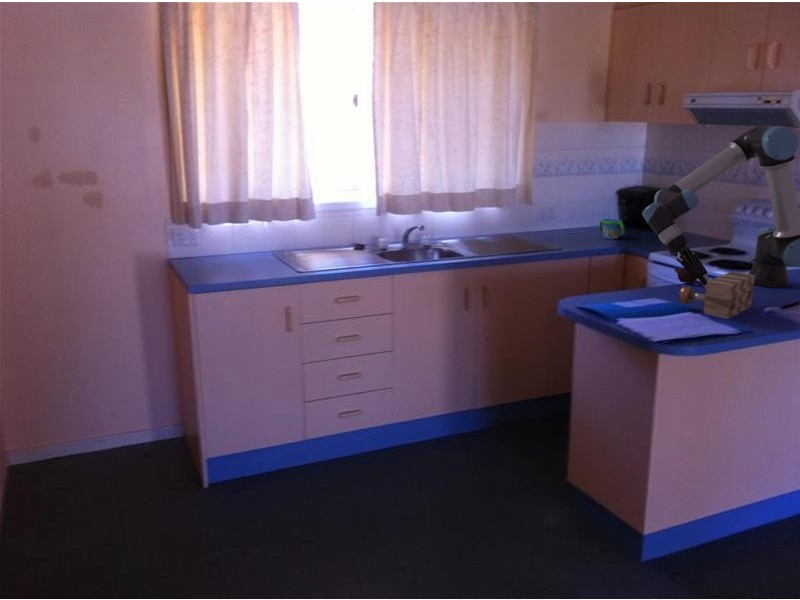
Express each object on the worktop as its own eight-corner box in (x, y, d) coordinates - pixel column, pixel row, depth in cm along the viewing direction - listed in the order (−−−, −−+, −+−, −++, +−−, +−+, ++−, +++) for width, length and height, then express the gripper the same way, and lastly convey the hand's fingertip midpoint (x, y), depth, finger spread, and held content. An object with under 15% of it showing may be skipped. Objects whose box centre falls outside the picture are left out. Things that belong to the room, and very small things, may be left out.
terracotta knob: (685, 300, 256) (687, 284, 254) (714, 306, 249) (716, 289, 247) (677, 304, 252) (679, 287, 250) (707, 309, 245) (709, 292, 243)
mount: (726, 303, 261) (730, 271, 258) (750, 307, 255) (755, 275, 252) (701, 315, 246) (706, 281, 242) (726, 320, 240) (731, 285, 237)
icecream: (666, 264, 295) (690, 275, 282) (681, 258, 297) (706, 269, 283) (667, 279, 298) (691, 291, 285) (682, 274, 300) (706, 285, 286)
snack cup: (628, 240, 383) (630, 221, 380) (613, 242, 378) (615, 223, 375) (607, 235, 396) (609, 217, 393) (593, 237, 391) (594, 218, 389)
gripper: (673, 243, 273) (711, 293, 266) (658, 247, 264) (697, 300, 257) (688, 231, 268) (728, 282, 261) (673, 235, 259) (714, 288, 252)
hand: (713, 291), depth 259 cm, fingers closed
